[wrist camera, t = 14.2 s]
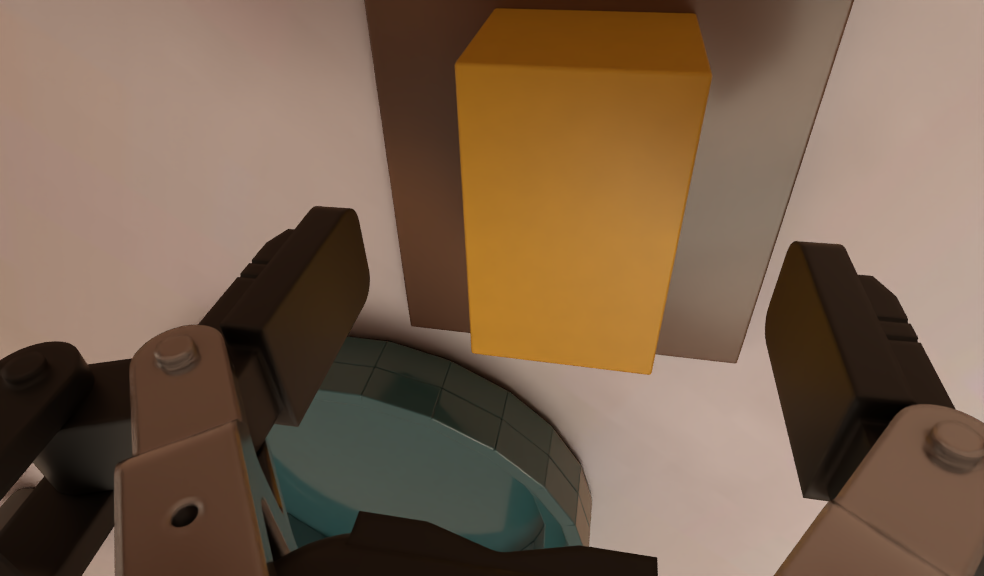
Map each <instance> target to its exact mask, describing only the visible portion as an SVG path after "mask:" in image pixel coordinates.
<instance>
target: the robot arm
mask: <svg viewBox="0 0 984 576" xmlns="http://www.w3.org/2000/svg"><path fill="white" fill-rule="evenodd" d="M369 285H370V275H369V268H368V263H367V258H366V253H365V248H364V243H363V238H362V233H361V229H360V224H359V219H358V216H357V214H356V212H355V211H354V210H353V209H350V208H336V207H322V206H315V207H313V208H312V209H311V210H310V211H309V212H308V213H307V215H306V216H305V217H304V218H303V220H302V221H301V222H300V223H299V225H298V226H297V227H296V228H295V230H294V229H287V230H286V231H284V232H283V233H281V234H280V235H278V236H276V237H275V238H273V239H272V240H270V241H269V242H267V243H266V244H265V245H264V246H263V247H262V249H261V250H260V251H259V252H258V253H257V255H256V256H255V257H254V258H253V259H252V263H249V264H248V265H247V266H246V268H245V269H244V270H243V271H242V272H241V277H237V278H236V280H235V281H234V282H233V283H232V284H231V286H230V287H229V288H228V289H227V290H226V292H225V293H224V294H223V295H222V296H221V298H220V299H219V300H218V301H217V302H216V304H215V305H214V306H213V307H212V308H211V310H210V311H209V312H208V313H207V314H206V316H205V317H204V318H203V319H202V320H201V322H200V323H199V324H198V325H186V326H181V327H177V328H173V329H171V330H168V331H165V332H163V333H161V334H159V335H157V336H155V337H154V338H152V339H151V340H149V341H148V342H146V343H145V344H144V345H143V346H142V347H141V348H140V349H139V350H138V351H137V352H136V353H135V355H134V357H133V358H132V359H125V360H118V361H110V362H103V363H95V364H88V365H87V363H86V362H85V360H84V359H83V357H82V356H81V354H80V352H79V351H78V350H77V348H76V347H75V346H73V345H72V344H69V343H66V342H44V343H39V344H35V345H32V346H29V347H26V348H23V349H21V350H18V351H16V352H14V353H12V354H10V355H8V356H7V357H5V358H3V359H2V360H0V500H1V499H2V498H3V497H4V496H5V495H6V493H7V492H8V491H9V490H10V489H11V487H12V486H13V485H14V484H15V483H16V481H17V480H18V479H19V478H20V477H21V475H22V474H23V473H24V472H25V471H26V470H27V468H28V467H29V466H30V465H31V464H32V462H33V463H34V464H35V466H36V467H37V468H38V469H39V470H40V471H41V473H42V474H43V475H44V477H43V479H42V480H41V481H40V482H39V484H38V485H37V486H36V487H35V489H34V490H33V491H32V492H31V494H30V495H29V496H28V497H27V498H26V500H25V501H24V502H23V503H22V505H21V506H20V507H19V508H18V510H17V511H16V512H15V513H14V515H13V516H12V517H11V518H10V520H9V521H8V522H7V523H6V525H5V526H4V527H3V528H2V530H1V531H0V576H82V574H83V573H84V571H85V570H86V568H87V567H88V565H89V564H90V562H91V561H92V559H93V558H94V556H95V555H96V553H97V552H98V550H99V548H100V547H101V545H102V544H103V542H104V541H105V539H106V538H107V536H108V535H109V533H110V532H111V530H112V529H113V527H114V545H115V576H658V568H657V557H651V556H644V555H638V554H631V553H625V552H619V551H612V550H606V549H600V548H593V547H587V546H581V545H578V546H567V547H556V548H545V549H535V550H524V551H513V552H498V551H494V550H491V549H489V548H487V547H484V546H482V545H480V544H478V543H475V542H473V541H471V540H469V539H466V538H464V537H462V536H460V535H457V534H455V533H453V532H451V531H448V530H446V529H444V528H442V527H439V526H437V525H435V524H433V523H430V522H428V521H421V520H415V519H409V518H402V517H396V516H390V515H383V514H377V513H371V512H364V511H359V513H358V516H357V518H356V521H355V523H354V526H353V529H352V531H351V533H346V534H340V535H336V536H331V537H327V538H323V539H320V540H317V541H315V542H312V543H309V544H306V545H304V546H302V547H300V548H298V547H297V544H296V542H295V539H294V536H293V533H292V529H291V526H290V522H289V519H288V515H287V511H286V507H285V503H284V499H283V495H282V491H281V488H280V484H279V480H278V476H277V472H276V468H275V464H274V460H273V457H272V453H271V449H270V445H269V443H268V441H267V438H266V437H267V435H268V434H269V432H270V430H271V428H272V427H273V425H274V424H279V425H286V426H293V427H299V425H300V423H301V421H302V419H303V417H304V416H305V414H306V412H307V410H308V408H309V406H310V404H311V403H312V401H313V399H314V397H315V395H316V393H317V391H318V390H319V388H320V386H321V384H322V382H323V380H324V378H325V377H326V375H327V373H328V371H329V369H330V367H331V365H332V363H333V362H334V360H335V358H336V356H337V354H338V352H339V350H340V349H341V347H342V345H343V343H344V341H345V339H346V337H347V336H348V334H349V332H350V330H351V328H352V326H353V324H354V323H355V321H356V319H357V317H358V315H359V313H360V311H361V310H362V308H363V306H364V304H365V302H366V299H367V296H368V292H369ZM765 339H766V345H767V349H768V353H769V357H770V361H771V366H772V370H773V374H774V378H775V382H776V386H777V390H778V395H779V399H780V403H781V407H782V411H783V415H784V420H785V424H786V428H787V432H788V436H789V440H790V444H791V449H792V453H793V457H794V461H795V465H796V469H797V474H798V478H799V482H800V486H801V490H802V494H803V498H809V499H816V500H823V501H829V502H828V503H827V504H826V505H825V507H824V508H823V509H822V511H821V512H820V513H819V515H818V516H817V517H816V519H815V520H814V521H813V523H812V524H811V525H810V527H809V528H808V530H807V531H806V532H805V534H804V535H803V536H802V538H801V539H800V540H799V542H798V543H797V545H796V546H795V547H794V549H793V550H792V551H791V553H790V554H789V555H788V557H787V558H786V560H785V561H784V562H783V564H782V565H781V566H780V568H779V569H778V570H777V572H776V573H775V575H774V576H984V423H983V422H981V421H980V420H978V419H976V418H974V417H972V416H970V415H968V414H966V413H963V412H961V411H958V410H956V409H955V407H954V405H953V403H952V402H951V400H950V398H949V396H948V394H947V392H946V390H945V388H944V386H943V384H942V383H941V381H940V379H939V377H938V375H937V373H936V371H935V369H934V367H933V365H932V364H931V362H930V360H929V358H928V356H927V354H926V352H925V350H924V348H923V346H922V344H921V343H918V341H917V340H918V337H917V335H916V333H915V331H914V329H913V327H912V325H911V324H908V318H907V316H906V314H905V312H904V310H903V308H902V306H901V305H900V303H899V301H898V299H897V297H896V296H895V295H894V294H893V293H892V292H890V291H889V290H888V289H887V288H886V287H885V286H884V285H882V284H881V283H880V282H879V281H878V280H877V279H875V278H874V277H873V276H866V275H857V272H856V270H855V268H854V266H853V264H852V262H851V260H850V258H849V255H848V253H847V251H846V249H845V247H844V246H843V245H841V244H827V243H813V242H799V241H794V242H793V243H792V244H791V245H790V247H789V249H788V251H787V253H786V256H785V259H784V262H783V265H782V268H781V271H780V274H779V277H778V280H777V283H776V286H775V289H774V292H773V295H772V298H771V301H770V304H769V307H768V311H767V316H766V323H765Z"/></svg>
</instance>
